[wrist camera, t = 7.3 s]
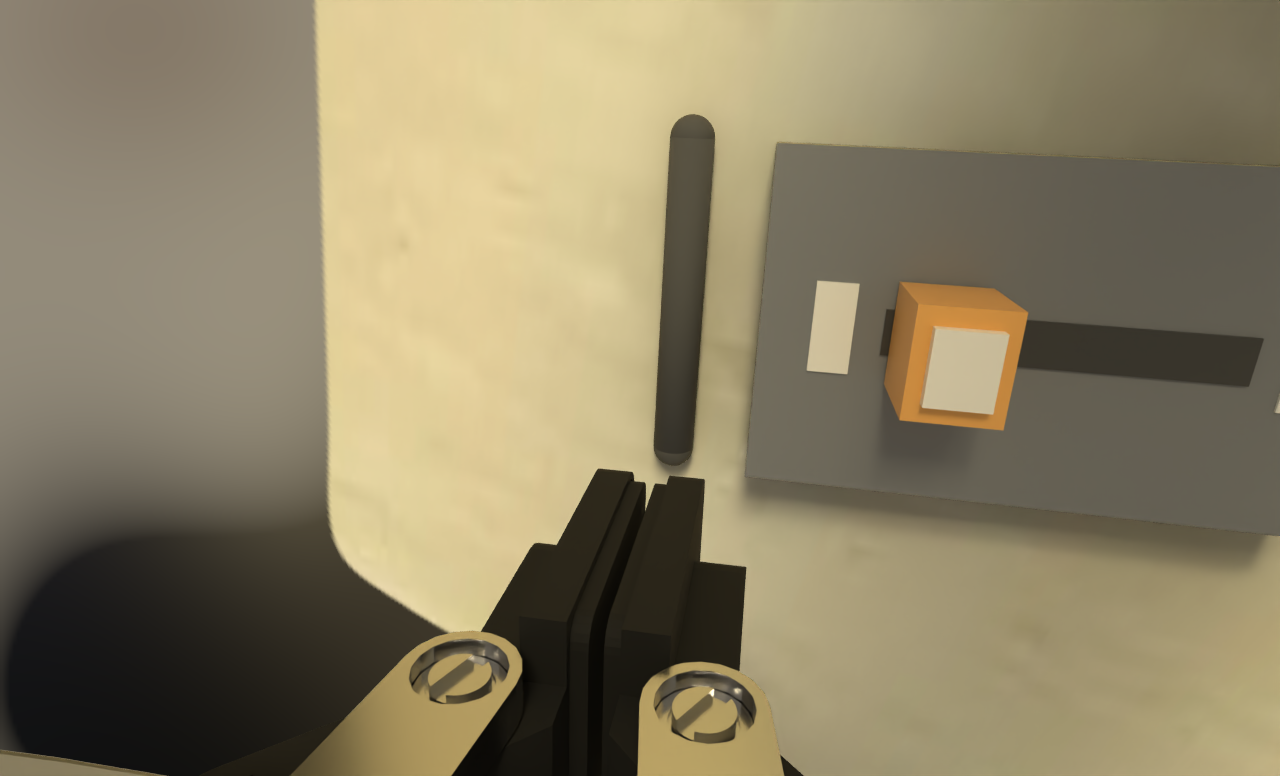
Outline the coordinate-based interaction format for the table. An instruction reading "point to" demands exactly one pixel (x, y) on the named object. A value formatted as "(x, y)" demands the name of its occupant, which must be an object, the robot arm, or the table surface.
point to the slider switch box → (1031, 330)
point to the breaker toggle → (953, 354)
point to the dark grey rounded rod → (683, 286)
